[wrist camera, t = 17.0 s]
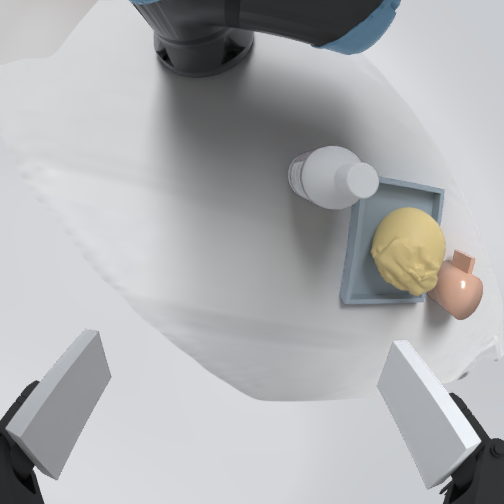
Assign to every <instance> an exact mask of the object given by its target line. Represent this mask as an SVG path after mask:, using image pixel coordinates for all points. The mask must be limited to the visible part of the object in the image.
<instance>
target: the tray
mask: <svg viewBox="0 0 504 504" xmlns="http://www.w3.org/2000/svg"><path fill="white" fill-rule="evenodd" d="M443 200H444V189H440V188H435V187H430V186H426V185H421V184H416V183H410V182H405V181H400V180H394V179H388V178H382V177H379V186H378V189H377V191H376V192H375V194H374V195H372V196H371V197H369V198H366V199H359V200H358V201H357V202H356V203H354V204H353V205H352V212H351V221H350V230H349V237H348V245H347V252H346V259H345V266H344V272H343V278H342V284H341V290H340V295H339V296H340V298H341V299H342V301H343V302H344V304H385V303H414V302H424V298H425V295H426V292H425V293H423V294H422V295H420V296H415V295H412V294H410V293H409V291H407V290H400V289H398V288H396V287H394V286H393V285H392V284H391V283H388V282H386V281H385V280H384V277H382V276H381V275H380V272H379V271H378V268H377V266H376V264H375V259H374V258H373V256H372V254H371V249H372V243H373V237H374V234H375V231H376V229H377V227H378V225H379V224H380V222H381V221H382V220H383V219H384V218H385V217H386V216H387V215H388V214H389V213H391V212H393V211H394V210H397V209H400V208H404V207H412V208H417V209H420V210H422V211H424V212H426V213H427V214H429V215H430V216H431V217H432V218H433V219H434V220H435V221H436V222H437V223H438V225H439V226H440V223H441V216H442V209H443Z"/></svg>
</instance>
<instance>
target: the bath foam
mask: <svg viewBox="0 0 504 504" xmlns="http://www.w3.org/2000/svg"><path fill="white" fill-rule="evenodd" d="M288 181H289V184H290V186H291V188H292V189H293V191H294V192H295V193H296V194H298V195H299V196H301V197H303V198H305V199H307V200H309V201H311V202H313V203H315V204H317V205H319V206H321V207H323V208H326V209H331V210H338V209H344V208H347V207H349V206H351V205H353V204H354V203H356V202H357V201H358V200H359V199H366V198H369V197H371V196H372V195H374V194H375V192H376V191H377V189H378V186H379V177H378V174H377V172H376V170H375V169H374V168H373V167H372V166H371V165H369V164H366V163H362V162H361V160H360V159H359V158H358V157H357V156H356V155H355V154H354V153H353V152H351V151H350V150H348V149H345V148H343V147H339V146H324V147H321V148H318V149H315V150H311V151H308V152H305V153H303V154H300V155H299V156H297V157H296V158H295V159H294V160H293V161H292V163H291V164H290V167H289V170H288Z"/></svg>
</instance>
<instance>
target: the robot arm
mask: <svg viewBox="0 0 504 504" xmlns="http://www.w3.org/2000/svg"><path fill="white" fill-rule="evenodd" d="M129 1H130V2H131V3H132V4H133V5H134V6H135V8H136V9H137V10H138V11H139V12H140V14H141V15H142V16H143V17H144V19H145V20H146V21H147V22H148V24H149V25H150V26H151V27H152V29H153V30H154V47H155V51H156V53H157V55H158V57H159V58H160V60H161V61H162V62H163V63H164V64H165V66H167V67H168V68H169V69H170V70H172V71H173V72H175V73H178V74H180V75H184V76H188V77H208V76H213V75H216V74H219V73H222V72H225V71H227V70H229V69H230V68H232V67H234V66H235V65H237V64H238V63H239V62H240V61H241V60H242V59H243V58H244V57H245V56H246V55H247V53H248V52H249V50H250V48H251V46H252V43H253V37H254V31H255V32H261V33H266V34H271V35H275V36H280V37H284V38H288V39H292V40H296V41H300V42H304V43H307V44H311V46H312V47H315V48H320V49H328V50H331V51H335V52H338V53H341V54H346V55H351V54H358V53H361V52H363V51H365V50H367V49H368V48H370V47H371V46H372V45H374V44H375V43H376V42H377V41H378V40H379V39H380V38H381V36H382V35H383V34H384V33H385V32H386V30H387V29H388V27H389V26H390V24H391V23H392V21H393V19H394V18H395V15H396V12H395V10H396V9H397V8H398V6H399V5H400V1H401V0H129ZM110 379H111V374H110V371H109V367H108V364H107V360H106V357H105V353H104V350H103V346H102V342H101V339H100V334H99V331H95V330H89V329H84V331H83V332H82V333H81V334H80V335H79V336H78V337H77V338H76V340H75V341H74V342H73V343H72V344H71V345H70V347H69V348H68V349H67V350H66V351H65V352H64V354H63V355H62V356H61V357H60V358H59V359H58V361H57V362H56V363H55V364H54V365H53V367H52V368H51V369H50V370H49V371H48V373H47V374H46V375H45V376H44V378H43V379H42V380H41V381H40V382H39V381H37V380H36V381H34V382H33V383H31V384H30V385H28V386H27V387H26V388H25V389H24V390H23V392H22V393H21V396H19V397H18V398H17V399H16V402H14V403H13V405H12V406H11V407H10V408H9V410H8V411H7V413H6V414H5V415H4V416H3V418H2V419H1V420H0V504H44V501H43V498H42V495H41V492H40V488H39V485H38V482H37V478H36V475H35V473H34V471H33V467H34V466H36V467H37V468H38V469H39V470H40V471H41V472H42V473H43V474H45V475H47V476H49V477H51V478H53V479H55V480H58V478H59V476H60V474H61V472H62V469H63V467H64V465H65V463H66V461H67V459H68V457H69V455H70V453H71V451H72V449H73V447H74V445H75V443H76V441H77V439H78V437H79V435H80V433H81V431H82V429H83V428H84V426H85V424H86V422H87V420H88V418H89V416H90V415H91V413H92V411H93V409H94V407H95V405H96V404H97V402H98V400H99V398H100V396H101V395H102V393H103V391H104V389H105V387H106V386H107V384H108V382H109V380H110ZM377 387H378V389H379V391H380V393H381V395H382V396H383V398H384V400H385V402H386V404H387V406H388V408H389V410H390V412H391V414H392V416H393V418H394V420H395V422H396V424H397V426H398V428H399V430H400V432H401V434H402V436H403V438H404V440H405V442H406V445H407V447H408V449H409V451H410V453H411V455H412V457H413V459H414V461H415V464H416V466H417V468H418V470H419V472H420V474H421V476H422V479H423V481H424V483H425V486H426V488H427V489H430V488H432V487H435V486H437V485H439V484H441V483H443V482H444V481H445V480H446V479H447V478H448V477H449V476H450V475H451V477H452V479H453V480H452V481H450V482H449V483H448V484H447V485H446V486H445V487H444V488H443V489H442V490H441V491H440V493H439V494H442V493H443V492H445V491H446V490H447V489H448V490H447V492H446V493H445V495H446V496H445V499H444V502H443V504H504V441H503V440H501V439H499V438H494V439H490V438H489V436H488V435H487V434H486V432H485V431H484V429H483V428H482V426H481V425H480V424H479V422H478V421H477V419H476V418H475V417H474V415H472V413H471V411H470V410H469V409H467V406H466V404H465V403H464V402H463V400H462V399H461V398H459V397H458V396H457V395H455V394H454V393H449V394H448V393H447V391H446V390H445V389H444V388H443V386H442V385H441V383H440V382H439V381H438V379H437V378H436V377H435V375H434V374H433V373H432V371H431V370H430V369H429V368H428V366H427V365H426V364H425V362H424V361H423V360H422V359H421V357H420V356H419V355H418V354H417V352H416V351H415V350H414V349H413V347H412V346H411V345H410V344H409V343H408V341H407V340H399V341H393V342H392V345H391V348H390V351H389V354H388V357H387V360H386V363H385V365H384V368H383V371H382V373H381V376H380V379H379V381H378V384H377Z"/></svg>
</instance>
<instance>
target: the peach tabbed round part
mask: <svg viewBox="0 0 504 504" xmlns="http://www.w3.org/2000/svg"><path fill="white" fill-rule="evenodd" d="M474 263H475V258H474V257H472V256H469V255H467V254H465V253H463V252H461V251H459V250H455V251H454V256H453V260H452V263H451V262H450V261H443V262H442V264H441V266H440V270H439V271H438V274H437V278H438V280H437V284H436V286H435V287H434V288H433V289H432V290H430V291H428V292H427V293H428V295H429V296H430V297H431V298H432V299H433V300H434V301H436V302H437V303H438V304H439V305H441V306H442V307H443V308H444V309H445V310H447V311H448V312H449V313H450V314H451V315H452V316H454V317H455V318H456V319H458V320H463V319H466V318H468V317H469V316H470V315H471V314H472V313H473V312H474V311H475V310H476V308H477V307H478V305H479V303H480V301H481V298H482V294H483V284H482V281H481V280H480V279H479V278H477V277H476V276H474V275H472V271H473V267H474Z"/></svg>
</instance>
